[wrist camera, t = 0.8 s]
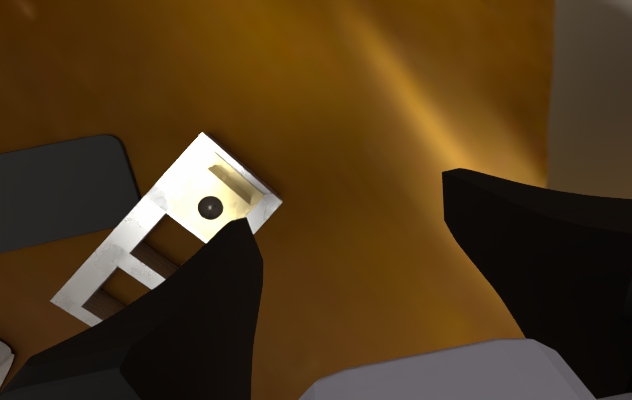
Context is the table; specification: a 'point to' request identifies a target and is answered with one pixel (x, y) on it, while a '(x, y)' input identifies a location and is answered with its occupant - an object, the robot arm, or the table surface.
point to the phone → (64, 190)
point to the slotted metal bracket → (129, 235)
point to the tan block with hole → (214, 197)
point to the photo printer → (5, 361)
